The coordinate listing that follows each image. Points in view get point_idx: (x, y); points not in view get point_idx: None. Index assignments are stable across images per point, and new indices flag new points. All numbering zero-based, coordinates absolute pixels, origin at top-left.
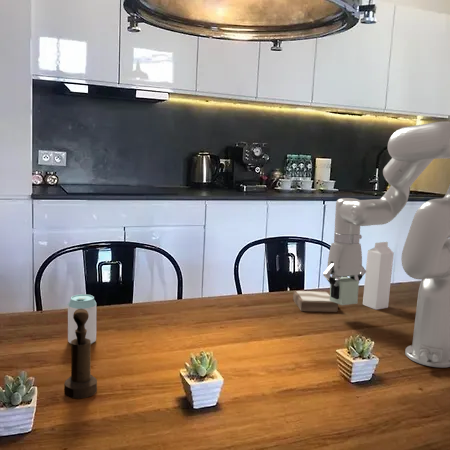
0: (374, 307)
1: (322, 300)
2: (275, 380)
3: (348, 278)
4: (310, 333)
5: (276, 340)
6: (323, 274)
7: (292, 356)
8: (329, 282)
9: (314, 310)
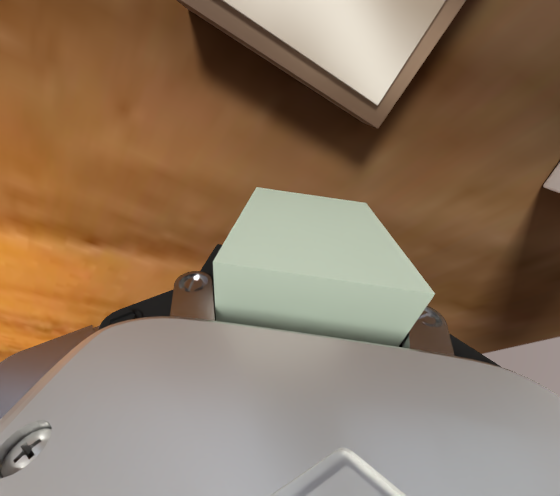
0: (554, 181)
1: (314, 46)
2: (14, 338)
3: (373, 339)
4: (128, 246)
5: (17, 241)
6: (2, 367)
7: (51, 306)
8: (162, 295)
9: (259, 55)
